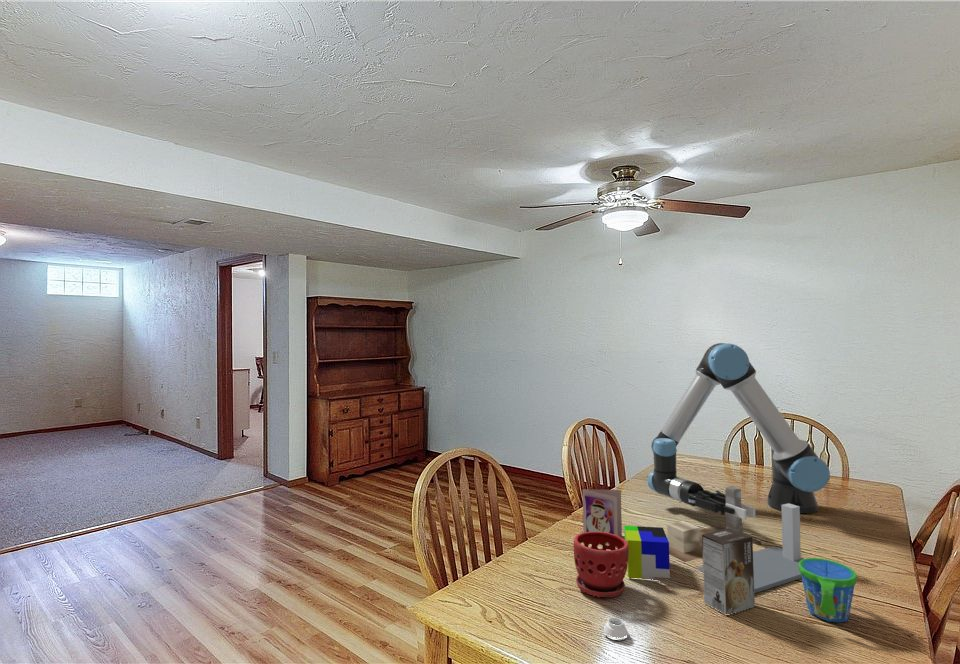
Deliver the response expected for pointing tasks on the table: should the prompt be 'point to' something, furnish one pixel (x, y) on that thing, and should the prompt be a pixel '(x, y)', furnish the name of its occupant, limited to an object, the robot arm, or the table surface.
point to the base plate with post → (779, 554)
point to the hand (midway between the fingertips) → (749, 513)
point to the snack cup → (828, 588)
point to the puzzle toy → (647, 552)
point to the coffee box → (728, 570)
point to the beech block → (683, 536)
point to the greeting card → (602, 511)
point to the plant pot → (601, 563)
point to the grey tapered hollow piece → (615, 628)
